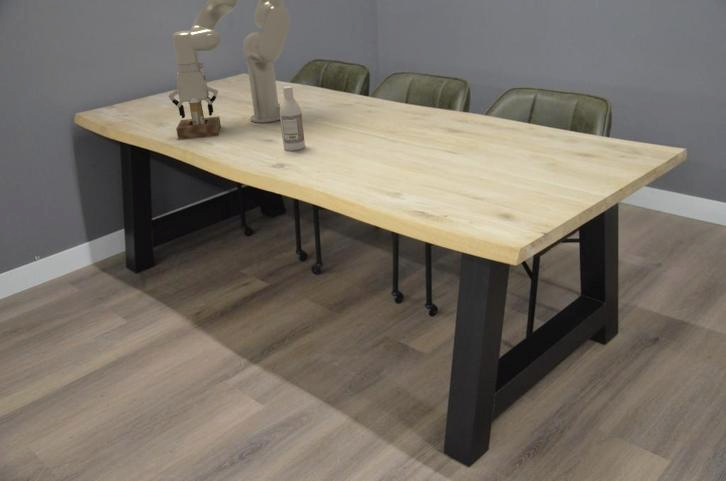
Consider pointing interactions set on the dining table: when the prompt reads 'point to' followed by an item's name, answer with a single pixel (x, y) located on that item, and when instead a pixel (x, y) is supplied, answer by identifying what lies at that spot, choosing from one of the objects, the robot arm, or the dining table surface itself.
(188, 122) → the socket board
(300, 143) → the bath foam
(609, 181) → the dining table surface
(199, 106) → the sprinkles bottle
